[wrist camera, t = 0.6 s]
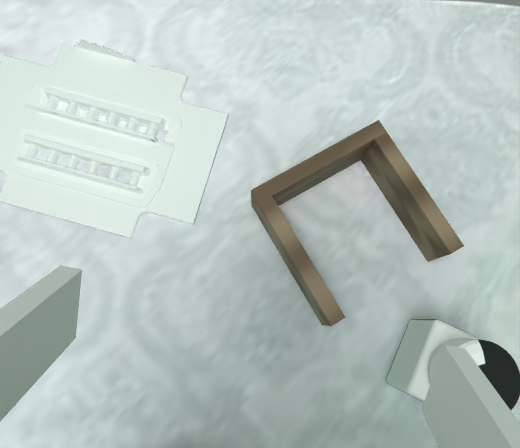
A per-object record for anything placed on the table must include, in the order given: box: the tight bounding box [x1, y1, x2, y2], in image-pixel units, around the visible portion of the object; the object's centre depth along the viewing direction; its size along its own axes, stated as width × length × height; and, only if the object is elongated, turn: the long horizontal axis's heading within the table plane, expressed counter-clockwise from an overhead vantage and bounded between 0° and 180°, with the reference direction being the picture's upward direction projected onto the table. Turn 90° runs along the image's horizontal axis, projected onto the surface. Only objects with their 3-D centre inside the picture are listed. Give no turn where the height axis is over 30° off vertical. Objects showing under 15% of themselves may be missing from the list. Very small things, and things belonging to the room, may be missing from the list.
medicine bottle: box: [386, 319, 520, 410], centre depth 40 cm, size 7×7×12 cm
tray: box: [0, 40, 229, 238], centre depth 51 cm, size 20×28×4 cm
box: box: [251, 120, 464, 326], centre depth 46 cm, size 15×15×6 cm
